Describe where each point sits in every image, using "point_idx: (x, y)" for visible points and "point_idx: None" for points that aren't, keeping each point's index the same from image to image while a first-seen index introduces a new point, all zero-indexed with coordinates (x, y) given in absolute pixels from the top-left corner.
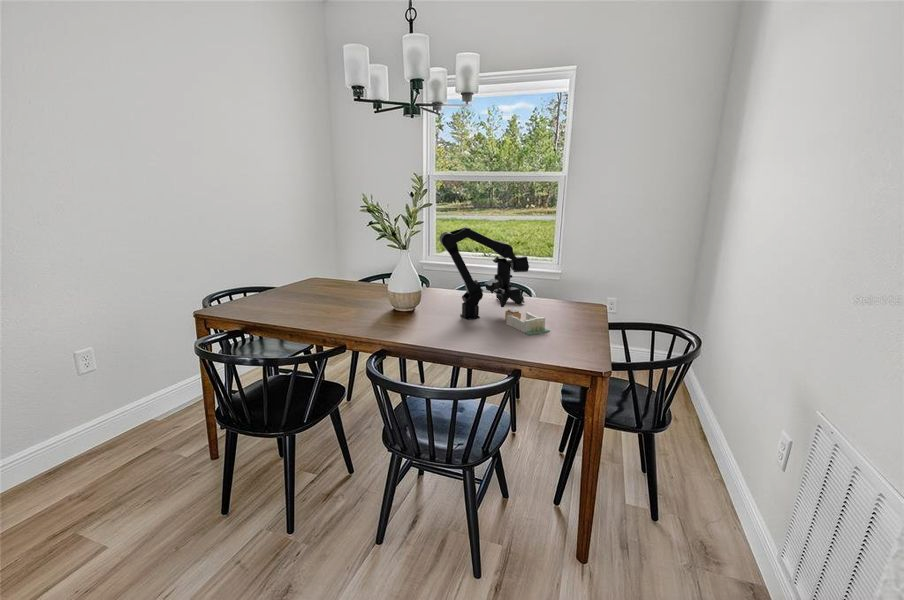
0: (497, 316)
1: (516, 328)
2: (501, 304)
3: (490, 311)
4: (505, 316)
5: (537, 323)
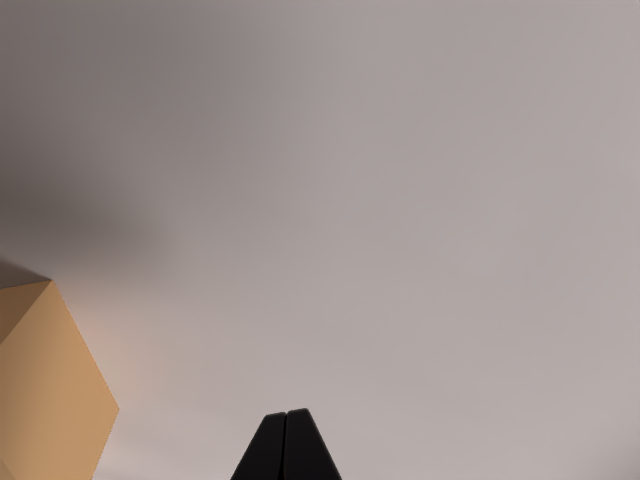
0: (248, 221)
1: None
2: (252, 467)
3: (566, 207)
4: (16, 316)
5: None
